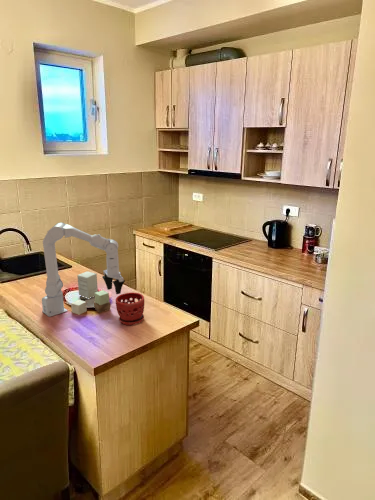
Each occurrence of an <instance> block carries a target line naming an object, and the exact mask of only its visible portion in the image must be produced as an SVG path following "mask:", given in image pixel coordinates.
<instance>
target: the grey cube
mask: <svg viewBox="0 0 375 500" xmlns="http://www.w3.org/2000/svg"><path fill="white" fill-rule="evenodd" d="M70 306H71V313H73V314H76V315H79V316H80V315H83V313H84V314H85V313H86V312H87V311H88V309H87V301H84V300H83V299H82V300H81V299H77V300H75V301H73V302H71V305H70Z"/></svg>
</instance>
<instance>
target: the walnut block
mask: <svg viewBox="0 0 375 500" xmlns="http://www.w3.org/2000/svg"><path fill="white" fill-rule="evenodd" d="M94 307H95V309H94V310H95V311H96V312H98V314H99V313H103V312H106V311H110V310H111V302H110V301H109V303H106V304H103V305H99V304H97V303H96V302H95V300H94V301H93V308H94Z"/></svg>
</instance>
